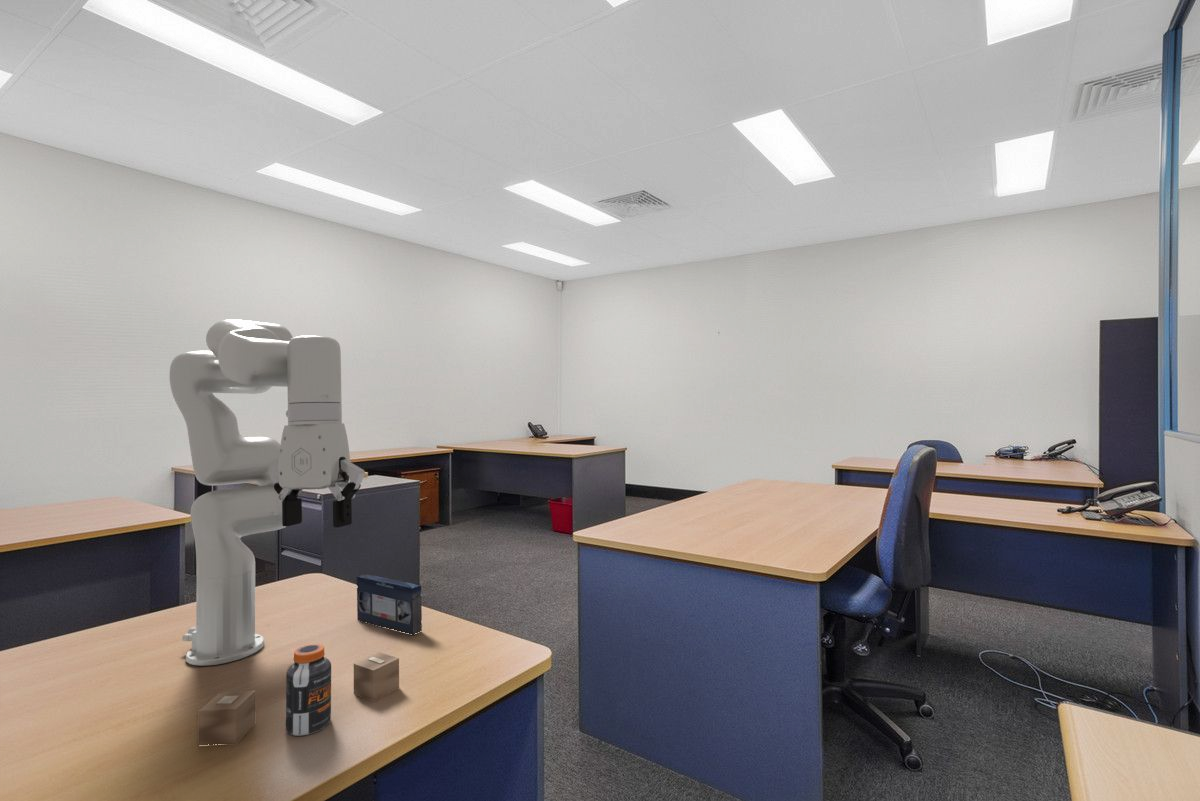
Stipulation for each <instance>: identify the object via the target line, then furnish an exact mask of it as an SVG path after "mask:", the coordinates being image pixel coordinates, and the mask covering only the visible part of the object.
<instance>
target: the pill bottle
mask: <svg viewBox="0 0 1200 801" xmlns="http://www.w3.org/2000/svg"><path fill="white" fill-rule="evenodd" d="M325 654H326V653H325V646H324V645H323V644H320V643H312V644H305V645H302V646H300V647H298V648H296V649H295V650H294V652H293V662H292V663H291V665H289V666H288V668H287V670H286V674H285V676H286V677H285V678H286V679H285V682H286V683H285V684H286V686H285V731H286V732H287V734H289V735H291V736H295V737H299V736H300V737H301V736H307V735H310V734H314V733H317V732H319V731H321V730H323V729H324V728H325V727H327V726H328V724H330V723H331V720H332V719H331V718H332V717H331V715H332V663H331V661H330V659H329V658H327V657H325Z"/></svg>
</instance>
